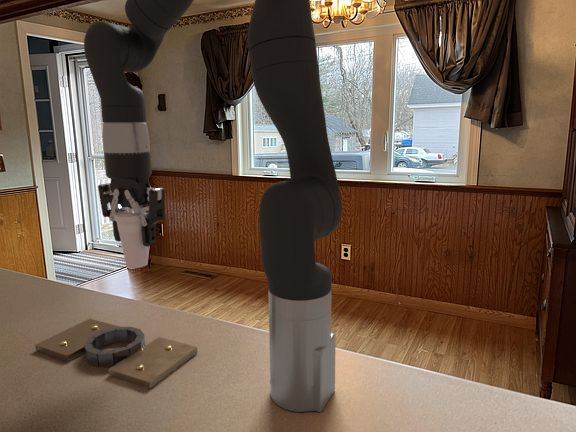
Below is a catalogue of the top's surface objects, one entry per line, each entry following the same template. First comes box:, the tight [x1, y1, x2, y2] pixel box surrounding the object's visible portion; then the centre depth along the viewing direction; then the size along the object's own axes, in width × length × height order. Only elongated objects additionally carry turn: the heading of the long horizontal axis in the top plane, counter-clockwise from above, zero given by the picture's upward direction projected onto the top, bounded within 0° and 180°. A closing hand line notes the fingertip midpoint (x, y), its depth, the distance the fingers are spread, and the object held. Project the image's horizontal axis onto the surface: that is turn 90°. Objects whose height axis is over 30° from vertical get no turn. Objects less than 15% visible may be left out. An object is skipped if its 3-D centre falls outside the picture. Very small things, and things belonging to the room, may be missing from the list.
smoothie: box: [114, 207, 150, 269], centre depth 76 cm, size 6×6×14 cm
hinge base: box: [34, 318, 198, 390], centre depth 78 cm, size 28×12×2 cm, turn 64°
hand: (134, 242), depth 77 cm, fingers closed on smoothie, 6 cm apart
